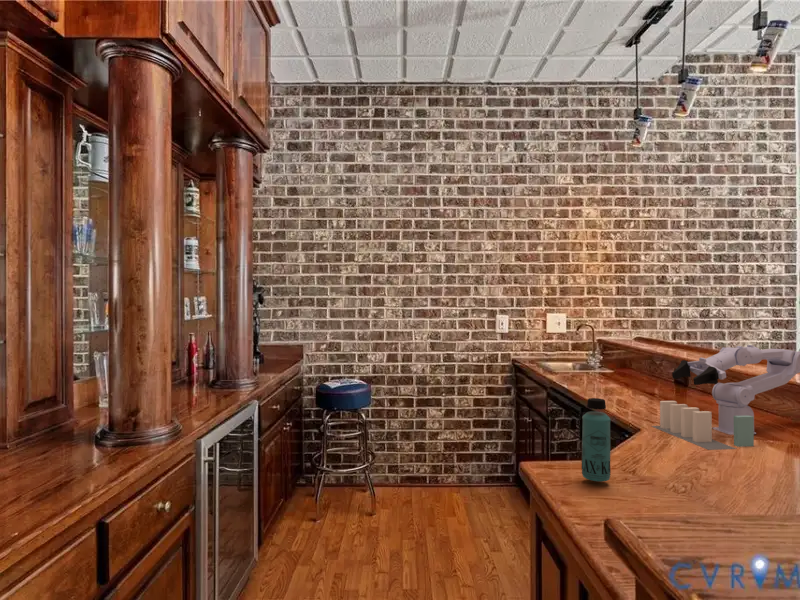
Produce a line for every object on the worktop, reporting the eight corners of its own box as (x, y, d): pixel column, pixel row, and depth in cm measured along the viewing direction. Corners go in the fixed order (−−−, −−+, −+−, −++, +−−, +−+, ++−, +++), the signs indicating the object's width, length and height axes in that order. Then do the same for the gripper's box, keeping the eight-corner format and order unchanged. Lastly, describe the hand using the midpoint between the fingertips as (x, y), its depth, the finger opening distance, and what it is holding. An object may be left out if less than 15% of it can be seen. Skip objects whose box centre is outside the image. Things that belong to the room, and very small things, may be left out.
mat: (675, 426, 171) (675, 425, 171) (737, 449, 143) (737, 448, 143) (650, 426, 170) (650, 426, 170) (708, 450, 142) (708, 449, 142)
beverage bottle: (576, 478, 120) (576, 396, 120) (603, 478, 120) (602, 395, 120) (589, 488, 113) (588, 401, 113) (617, 487, 114) (616, 401, 114)
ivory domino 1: (674, 427, 169) (673, 400, 169) (677, 428, 167) (676, 401, 167) (660, 427, 168) (659, 401, 168) (663, 428, 167) (662, 401, 167)
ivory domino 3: (696, 435, 158) (695, 407, 158) (699, 436, 156) (699, 408, 156) (681, 436, 157) (680, 407, 157) (684, 437, 156) (684, 408, 156)
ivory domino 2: (684, 431, 163) (684, 403, 163) (687, 432, 162) (687, 404, 162) (670, 431, 163) (670, 404, 163) (673, 432, 161) (673, 405, 161)
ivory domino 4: (708, 440, 152) (707, 411, 152) (711, 441, 151) (711, 412, 151) (692, 440, 152) (692, 411, 152) (696, 442, 150) (696, 412, 150)
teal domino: (749, 445, 148) (749, 415, 148) (753, 447, 146) (753, 416, 146) (733, 446, 147) (733, 415, 147) (737, 447, 146) (737, 417, 146)
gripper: (693, 349, 167) (662, 361, 163) (734, 358, 154) (703, 372, 150) (695, 368, 169) (665, 381, 164) (737, 379, 155) (705, 393, 151)
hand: (683, 378), depth 157 cm, fingers open, 7 cm apart
